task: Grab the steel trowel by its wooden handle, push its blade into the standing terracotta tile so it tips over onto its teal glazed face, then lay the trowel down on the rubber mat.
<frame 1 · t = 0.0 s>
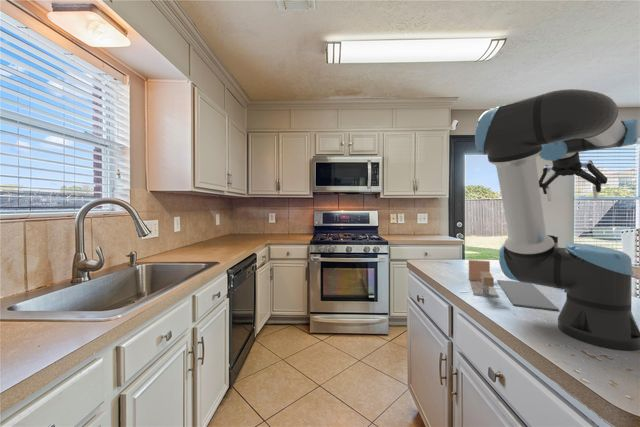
hand: (571, 198, 106), 36 cm above the worktop, tool tilted 35°, fingers open, 13 cm apart
rubber mat: (522, 293, 99), on the worktop
travel mug: (545, 281, 113), on the worktop
palette knife: (582, 301, 92), on the worktop
steel trowel: (485, 296, 97), on the worktop
terracotta tile: (478, 280, 117), on the worktop
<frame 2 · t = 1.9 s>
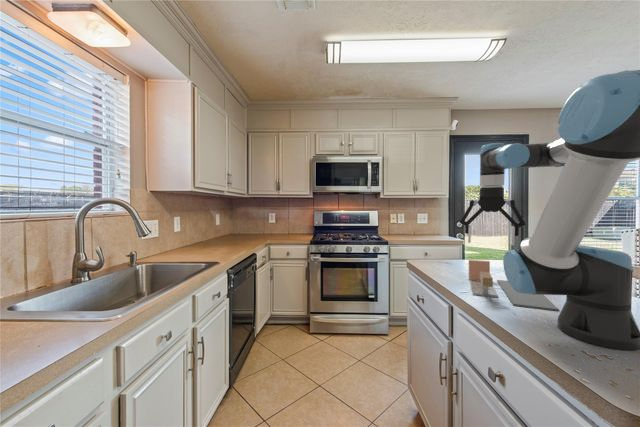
hand: (490, 243, 97), 20 cm above the worktop, tool pointing down, fingers open, 13 cm apart
nothing on the worktop moved.
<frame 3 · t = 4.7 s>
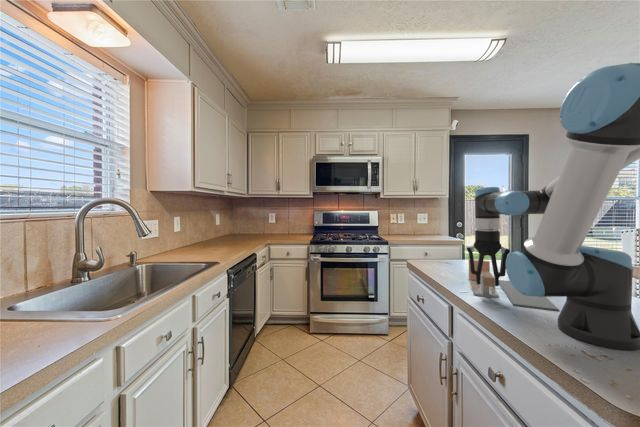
hand: (487, 293, 94), 2 cm above the worktop, tool pointing down, fingers closed on steel trowel, 3 cm apart
steel trowel: (486, 296, 97), on the worktop, touching gripper
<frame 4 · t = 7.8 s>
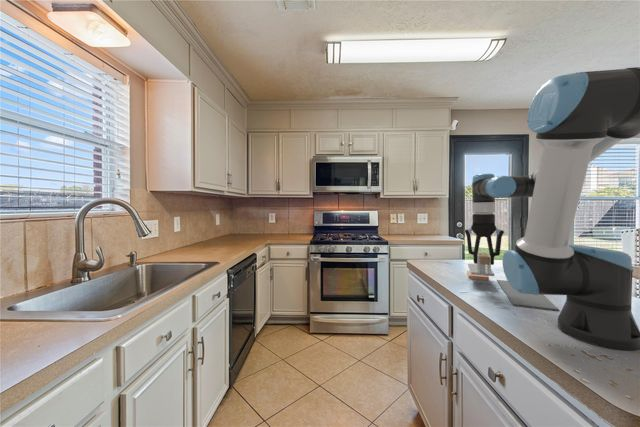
hand: (483, 272, 103), 8 cm above the worktop, tool pointing down, fingers closed on steel trowel, 3 cm apart
steel trowel: (482, 275, 105), point 6 cm above the worktop, touching gripper
terracotta tile: (478, 278, 118), on the worktop, tilted 90°
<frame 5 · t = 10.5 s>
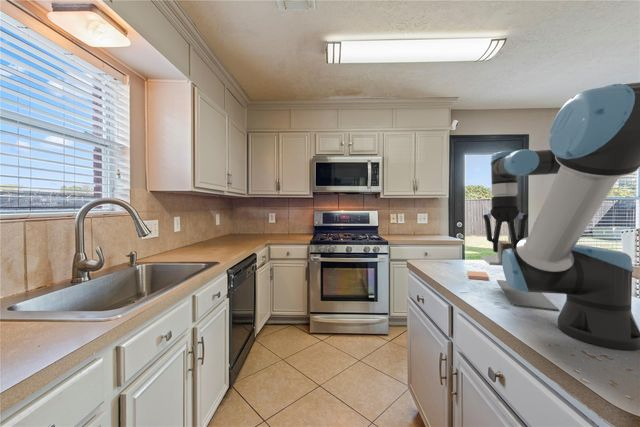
hand: (504, 261, 92), 14 cm above the worktop, tool pointing down, fingers closed on steel trowel, 3 cm apart
steel trowel: (502, 265, 95), point 12 cm above the worktop, touching gripper
when the fingers open (4 cm above the worktop, at t = 13.1 s): steel trowel drops 1 cm, resting on rubber mat.
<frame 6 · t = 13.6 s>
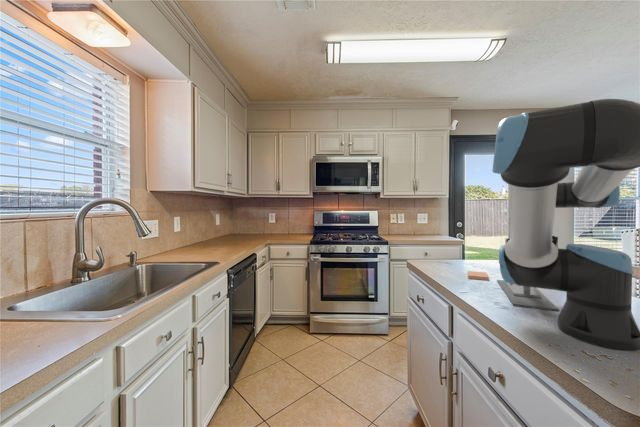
hand: (529, 286, 91), 5 cm above the worktop, tool pointing down, fingers open, 10 cm apart
steel trowel: (527, 297, 94), point 1 cm above the worktop, touching rubber mat
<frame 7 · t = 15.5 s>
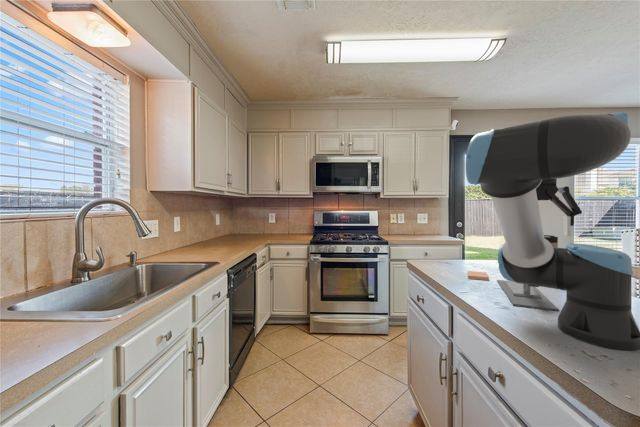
hand: (541, 235, 89), 24 cm above the worktop, tool pointing down, fingers open, 13 cm apart
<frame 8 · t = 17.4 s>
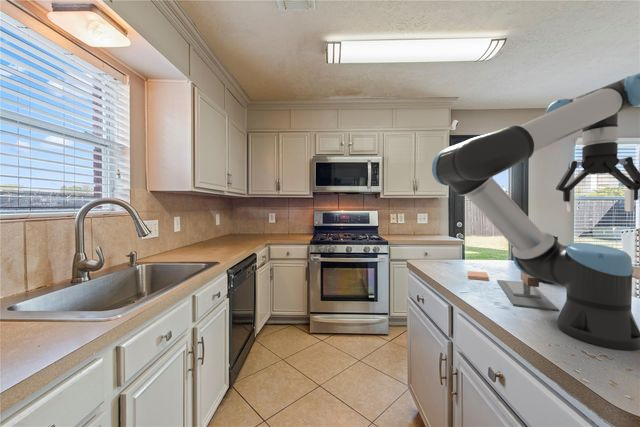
hand: (598, 211, 82), 32 cm above the worktop, tool pointing down, fingers open, 13 cm apart
at the end: terracotta tile tilted 90°; steel trowel inside the target area on the rubber mat (1.3 cm from its centre), point 0.6 cm above the rubber mat's base; the gripper is holding nothing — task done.
